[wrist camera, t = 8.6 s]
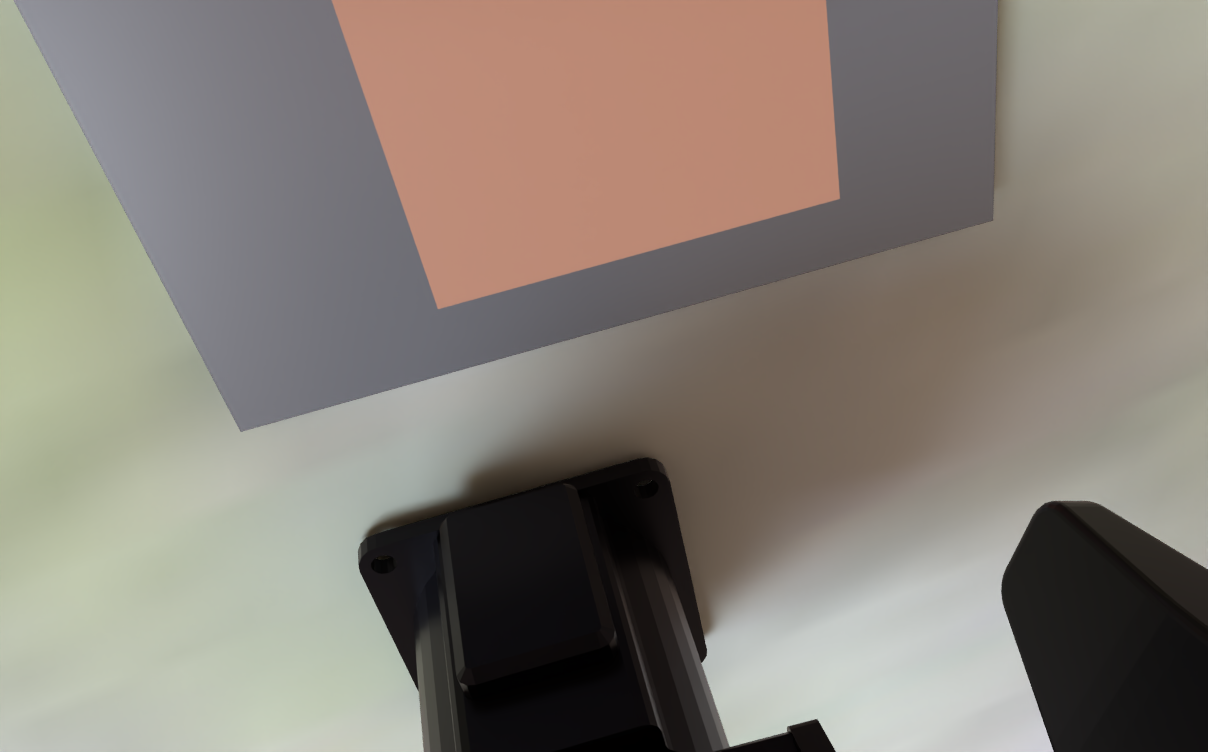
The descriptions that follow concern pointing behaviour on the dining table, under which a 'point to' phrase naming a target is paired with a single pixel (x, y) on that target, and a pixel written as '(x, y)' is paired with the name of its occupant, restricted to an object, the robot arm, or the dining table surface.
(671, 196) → the terracotta block
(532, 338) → the slate plate
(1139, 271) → the dining table surface
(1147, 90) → the dining table surface
